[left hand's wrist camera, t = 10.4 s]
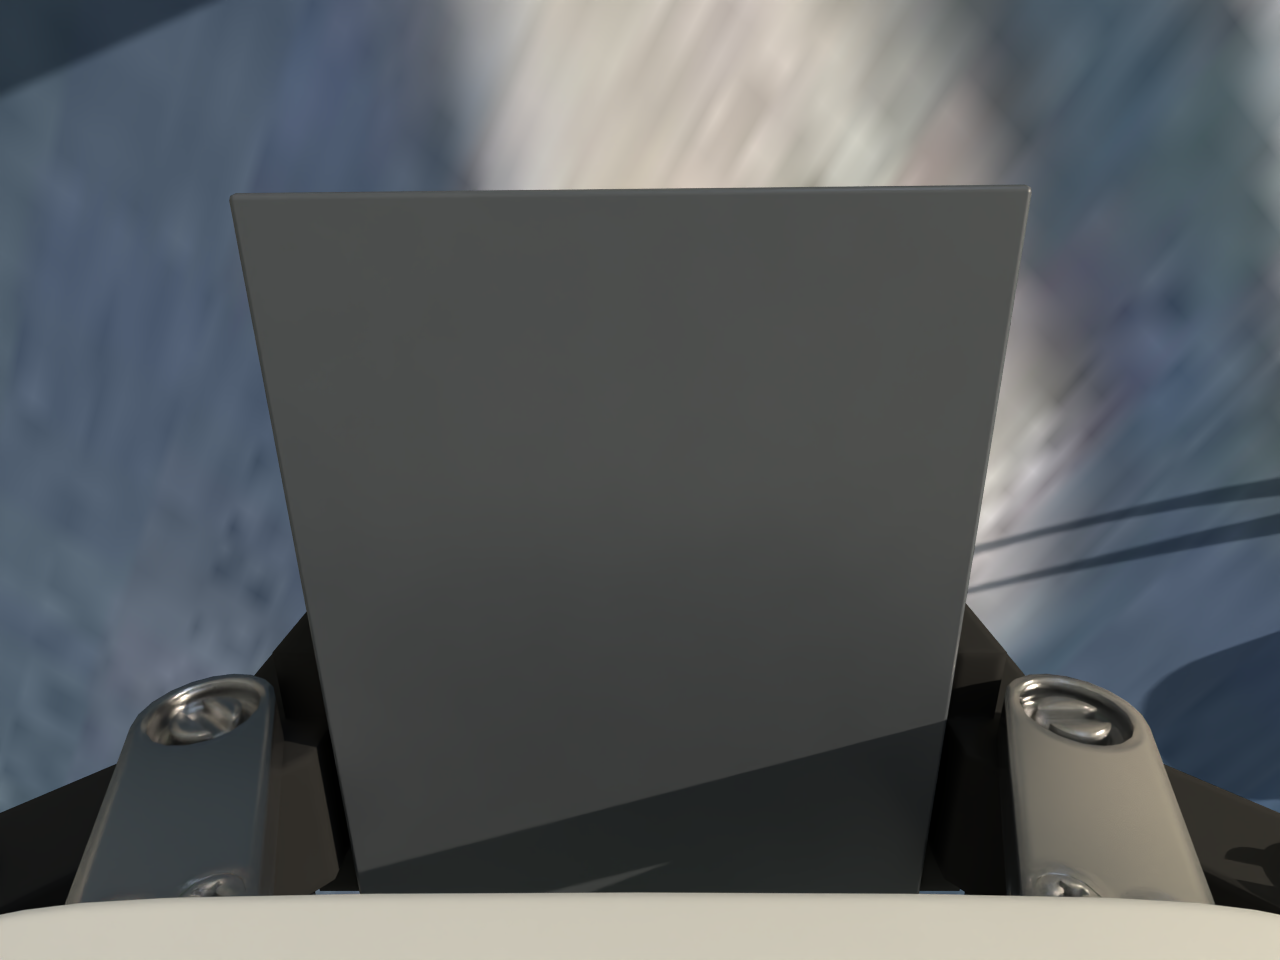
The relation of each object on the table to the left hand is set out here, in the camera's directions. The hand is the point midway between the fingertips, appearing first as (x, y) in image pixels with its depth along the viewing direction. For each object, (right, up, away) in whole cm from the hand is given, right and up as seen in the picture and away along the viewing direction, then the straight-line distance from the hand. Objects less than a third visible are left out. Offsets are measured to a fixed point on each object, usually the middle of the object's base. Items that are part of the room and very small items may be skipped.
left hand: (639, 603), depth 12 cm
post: (0, -29, +12) cm, 32 cm away
